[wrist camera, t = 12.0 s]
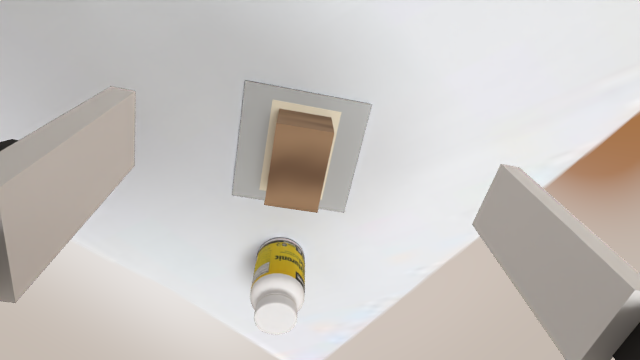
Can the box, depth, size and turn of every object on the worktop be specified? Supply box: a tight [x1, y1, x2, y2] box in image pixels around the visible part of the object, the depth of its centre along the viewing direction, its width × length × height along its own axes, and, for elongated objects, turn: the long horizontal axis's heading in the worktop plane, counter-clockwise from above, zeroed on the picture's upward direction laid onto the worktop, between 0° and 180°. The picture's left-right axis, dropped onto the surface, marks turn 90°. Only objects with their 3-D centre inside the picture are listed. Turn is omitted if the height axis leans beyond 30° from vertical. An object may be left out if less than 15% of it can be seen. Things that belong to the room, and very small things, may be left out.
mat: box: [232, 80, 372, 213], centre depth 39 cm, size 12×12×1 cm
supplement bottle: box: [250, 238, 305, 335], centre depth 41 cm, size 5×5×10 cm
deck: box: [264, 108, 334, 213], centre depth 37 cm, size 8×5×4 cm, turn 169°
